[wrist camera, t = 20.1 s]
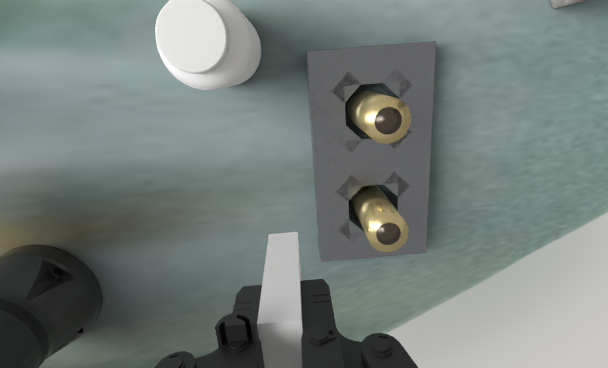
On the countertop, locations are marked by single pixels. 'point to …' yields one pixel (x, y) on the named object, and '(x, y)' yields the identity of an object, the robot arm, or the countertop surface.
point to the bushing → (380, 116)
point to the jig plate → (370, 143)
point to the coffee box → (563, 2)
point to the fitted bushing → (380, 219)
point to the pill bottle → (207, 43)
